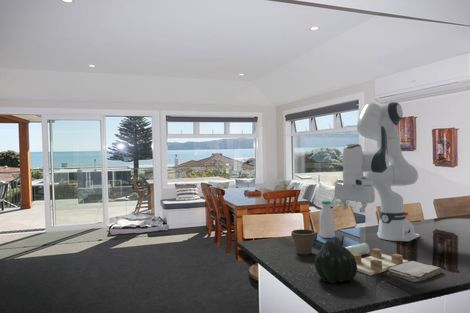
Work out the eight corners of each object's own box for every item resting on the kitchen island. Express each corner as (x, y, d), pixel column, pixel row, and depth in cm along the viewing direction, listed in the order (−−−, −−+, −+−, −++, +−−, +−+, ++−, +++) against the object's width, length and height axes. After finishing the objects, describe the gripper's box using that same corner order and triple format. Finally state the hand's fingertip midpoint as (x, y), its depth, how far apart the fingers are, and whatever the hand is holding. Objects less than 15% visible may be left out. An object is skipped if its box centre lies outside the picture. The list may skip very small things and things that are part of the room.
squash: (366, 273, 119) (352, 234, 129) (324, 277, 118) (313, 237, 128) (354, 288, 130) (342, 251, 140) (316, 292, 129) (306, 254, 139)
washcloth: (386, 275, 133) (386, 267, 133) (412, 265, 143) (412, 258, 143) (416, 284, 123) (416, 276, 123) (442, 273, 133) (442, 265, 133)
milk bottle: (334, 238, 186) (334, 201, 186) (320, 238, 188) (319, 201, 187) (333, 235, 194) (332, 199, 193) (319, 234, 195) (318, 199, 195)
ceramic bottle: (360, 252, 161) (360, 241, 161) (369, 255, 157) (369, 244, 157) (333, 259, 152) (332, 248, 152) (341, 262, 148) (341, 251, 148)
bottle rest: (381, 255, 155) (381, 246, 155) (408, 263, 144) (408, 253, 144) (344, 266, 143) (343, 256, 143) (370, 275, 132) (370, 264, 132)
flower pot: (295, 248, 170) (295, 228, 170) (318, 250, 165) (318, 229, 165) (288, 254, 160) (288, 233, 160) (313, 257, 155) (312, 235, 155)
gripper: (330, 179, 162) (331, 208, 163) (366, 182, 145) (367, 214, 145) (340, 178, 166) (340, 207, 166) (376, 181, 148) (377, 213, 148)
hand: (353, 210), depth 155 cm, fingers open, 8 cm apart
